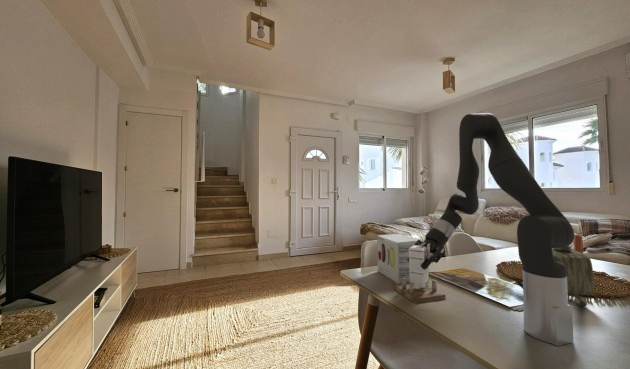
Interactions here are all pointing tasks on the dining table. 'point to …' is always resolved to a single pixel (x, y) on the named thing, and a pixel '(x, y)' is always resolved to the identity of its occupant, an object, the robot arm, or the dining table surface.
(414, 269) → the syrup box
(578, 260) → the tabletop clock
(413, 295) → the pin tray
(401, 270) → the supplement box
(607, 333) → the dining table surface
